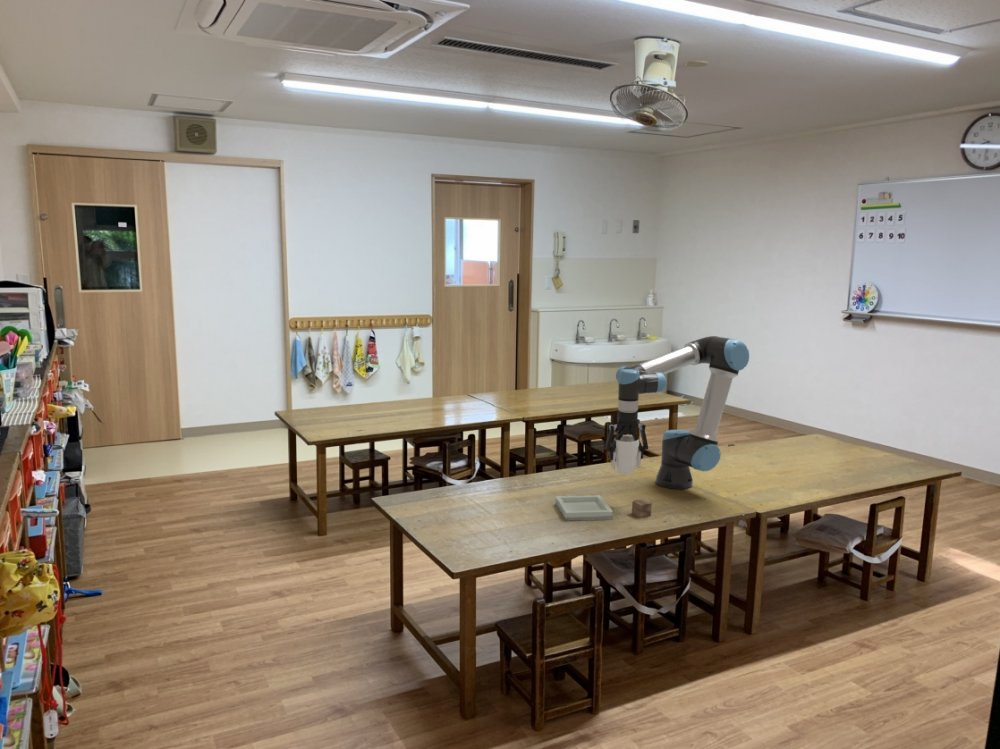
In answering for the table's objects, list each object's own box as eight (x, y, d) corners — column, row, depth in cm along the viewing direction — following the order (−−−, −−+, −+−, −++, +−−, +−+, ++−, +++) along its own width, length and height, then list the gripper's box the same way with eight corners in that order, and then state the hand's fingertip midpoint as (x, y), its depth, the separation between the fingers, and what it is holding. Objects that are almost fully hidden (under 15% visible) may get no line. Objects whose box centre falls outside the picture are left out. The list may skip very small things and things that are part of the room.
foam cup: (637, 468, 288) (638, 435, 286) (639, 475, 279) (640, 442, 277) (612, 467, 289) (613, 435, 287) (613, 474, 280) (614, 441, 278)
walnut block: (642, 511, 281) (643, 498, 280) (650, 515, 276) (651, 503, 275) (631, 513, 278) (632, 500, 277) (640, 518, 274) (641, 505, 273)
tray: (599, 502, 289) (599, 495, 288) (612, 519, 272) (613, 511, 271) (555, 503, 286) (555, 496, 286) (565, 520, 269) (566, 512, 269)
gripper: (652, 407, 285) (649, 463, 289) (596, 409, 282) (595, 465, 286) (659, 411, 278) (656, 469, 282) (602, 413, 274) (600, 471, 279)
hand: (625, 467), depth 284 cm, fingers closed on foam cup, 9 cm apart
